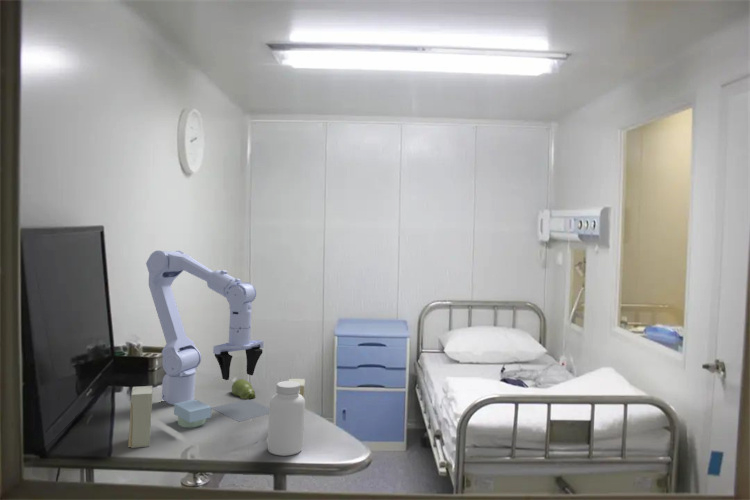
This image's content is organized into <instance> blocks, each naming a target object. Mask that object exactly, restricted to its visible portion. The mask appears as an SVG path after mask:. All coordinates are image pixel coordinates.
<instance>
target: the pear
mask: <svg viewBox="0 0 750 500" xmlns="http://www.w3.org/2000/svg"><path fill="white" fill-rule="evenodd" d="M231 393H232V394H233V395H234V396H236V397H239V398H240V399H242V400H247V399H249V400H252V399H256V392H255V390H254V388H253V385H252V383H250V382H249V381H248V380H246V379H244V378H243V379H237V380H235V381H234V382H233V383H232V385H231Z"/></svg>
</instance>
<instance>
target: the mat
mask: <svg viewBox="0 0 750 500" xmlns="http://www.w3.org/2000/svg"><path fill="white" fill-rule="evenodd" d="M269 409H270V407H268V406H266V405H263V404H262V403H258V402H256V401H253V400H252V399H242V400H238V401H234V402H230V403H226V404H222V405H217V406H211V410H213V411H215V412H218V413H220V414H221V415H224V416H226V417H228V418H231V419H232V420H233V421H237V422H238V423H240V422H244V421H247V420H251V419H255V418H258V417H259V418H260V417H264V416H265V415H269Z"/></svg>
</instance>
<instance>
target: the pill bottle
mask: <svg viewBox="0 0 750 500" xmlns="http://www.w3.org/2000/svg"><path fill="white" fill-rule="evenodd" d="M275 389H276V391H275V392H276V394H274V395H273V396H272V397H271V398H270V401H269V408H270V409H269V414H268V430H267V431H268V432H267V451H268V452H269V453H270V454H272V455H275V456H280V457H281V456H283V457H285V456H286V457H287V456H293V455H296V454H298V453H301V451H302V449H303V446H304V444H303V443H304V432H305V429H304V428H305V426H304V425H305V412H306V411H305V409H306V400H305V398H304V397H303V396H302V395H300V394H299V393H300V384H299V383H298V382H295V381H288V380H284V381H279V382H277V384H276V388H275Z"/></svg>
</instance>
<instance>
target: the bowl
mask: <svg viewBox="0 0 750 500" xmlns="http://www.w3.org/2000/svg"><path fill="white" fill-rule="evenodd" d="M206 420H207V418H206V419H202V420H198V421H194V422H190V423H189V422H187V421H186V420H184V419H182V418H180V417H178V416H177V425H178V426H180V427H182V428H196V427H200V426H203V425H204V424H205V423H206V422H207V421H206Z"/></svg>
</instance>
